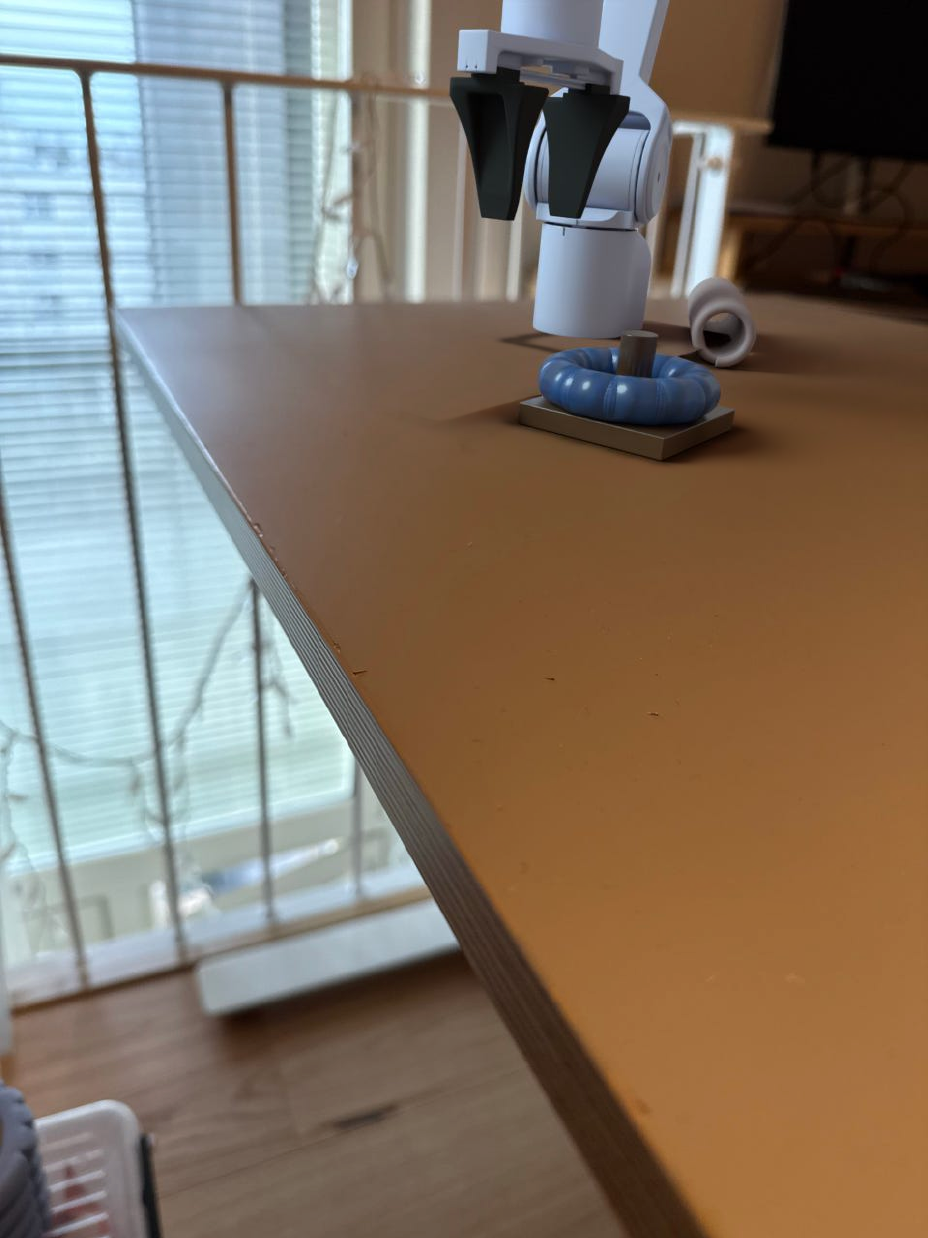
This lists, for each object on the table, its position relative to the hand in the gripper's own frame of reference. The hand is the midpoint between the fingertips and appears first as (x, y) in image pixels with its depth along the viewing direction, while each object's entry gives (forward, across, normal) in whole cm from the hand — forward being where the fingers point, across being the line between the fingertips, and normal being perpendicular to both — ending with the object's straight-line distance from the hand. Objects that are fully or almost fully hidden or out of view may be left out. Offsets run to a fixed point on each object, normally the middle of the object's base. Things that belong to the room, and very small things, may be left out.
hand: (532, 218), depth 58 cm
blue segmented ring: (+8, +5, +11) cm, 14 cm away
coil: (+10, -24, +4) cm, 26 cm away
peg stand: (+10, +5, +11) cm, 16 cm away
